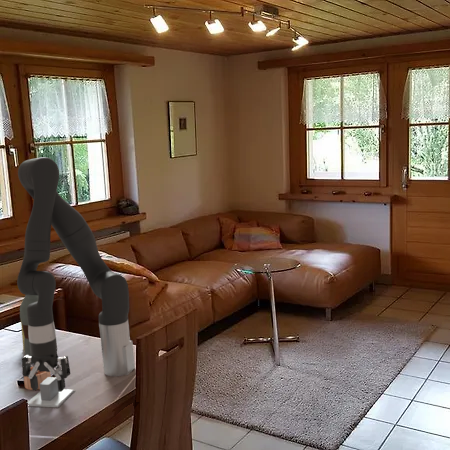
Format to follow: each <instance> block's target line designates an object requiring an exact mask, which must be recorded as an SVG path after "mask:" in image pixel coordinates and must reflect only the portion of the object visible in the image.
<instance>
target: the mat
mask: <svg viewBox="0 0 450 450" xmlns="http://www.w3.org/2000/svg"><path fill="white" fill-rule="evenodd" d="M73 391H74V392H73V393H72V394H71V395H70V396H69V397H68V398H67V399H66V400H65V401H64V402H63V403H62V404H61V405H60V406H59V407H42V406H29V407H28V408H45V409H60V408H61V407H62V405H64V404H65V402H67V401H68V400H69V398H71V397H72V396H73V394H75V393H76V390H73Z"/></svg>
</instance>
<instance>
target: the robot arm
mask: <svg viewBox="0 0 450 450" xmlns="http://www.w3.org/2000/svg"><path fill="white" fill-rule="evenodd" d="M17 176H18V180H19V182H20V184H21V186H22V187H23V188H24V189H25V190H26V192H27V193H28V194H29V196H30V197H31V198H32V200H33V204H32V209H31V213H30V216H29V219H28V222H27V225H26V229H25V234H24V255H23V259H22V261H21V262H22V263H21V267H20V269H19V272H18V275H17V283H16V284H17V289H18V290H19V292H20V293H21V294H23V295H24V296H25V295H38V302H34V303H31V304H30V305H28V307H27V318H28V334H29V343H30V352H31V355H32V356H29V355H28V354H27V355H26V356H25V355H24V356H23V357H22V358H21V367H22V369H21V370H22V377H23V378H24V377H26V376H27V377H29V378H30V383H31V388H32V390H31V391H37V389H38V378H37V376H36V374H37V373H38V371H40V372H43V371H46V372H50V373H51V374H52V375H53V376H54V377H56V378H57V383H58V391H59V392H62V391H63V390H64V389H65V388H66V378H68V377H69V376H70V375H71V368H70V362H69V356H68V355H65V356H60V357H59V355H58V344H57V343H58V342H57V334H56V327H55V322H54V313H53V304H54V298H55V293H56V285H57V284H56V278H55V277H54V274H53V273H52V272H49V271H46V270H37V269H38V266H39V265H40V264H41V263H47V262H48V261H49V260H50V258H51V233H52V228H53V229H54V231H55V233H56V234H57V237H58V238H59V239H60V241H61V242H62V244H63V246H64V247H65V249H66V250H67V251H68V252H69V254H70V256H71V257H72V258H73V260H74V261H75V262H76V263H77V265H78V266H79V267H80V269H81V271H82V272H83V274H84V276H85V279H86V280H87V282H88V284H89V286H90V288H91V290H92V292H93V294H94V295H95V296H96V297H97V298H99V299H101V308H102V310H101V311H100V312H99V314H98V327H99V335H100V344H101V346H100V347H101V354H102V355H101V356H102V357H101V358H102V365H103V367H102V368H103V373H104V374H105V376H108V377H121V376H128V375H130V374H131V373H132V372H133V370H134V369H135V368H136V367H135V355H134V354H135V353H134V344H133V340H131V337H130V325H129V313H130V292H129V284H128V281H127V279H126V278H125V277H124V276H123V275H121V274H119V273H116V272H114V271H112V269H110V267H109V266H108V265H107V264H106V262H105V261H104V260H103V258H102V256H101V254H100V253H99V249H98V245H97V241H96V237H95V235H94V233H93V231H92V229H91V227H90V226H89V224H88V222H87V221H86V219H85V218H84V217H83V215H82V214H81V213H80V212H79V211H78V210H76V209H75V207H73V206H72V205H71V204H70V203H68V201H67V200H65V199H64V198H63V197H62V196H61V195H60V194H59V192H58V185H59V181H60V180H59V179H60V168H59V166H58V164H57V163H56V161H54V160H53V159H52V158H50V157H46V156H45V157H43V156H42V157H37V158H31V159H30V158H29V159H27V160H24V161H23V162H22V163H20V165H19V166H18V169H17ZM30 362H32V363H33V364H32V365H33V366H34V367H33V369H32V371H31V367H32V366H31V363H30ZM38 390H39V389H38Z"/></svg>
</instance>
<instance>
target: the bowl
mask: <svg viewBox="0 0 450 450" xmlns="http://www.w3.org/2000/svg"><path fill="white" fill-rule="evenodd" d="M34 366H35V365H33V366H30V367H31V371H32V369H33V367H34ZM51 374H52V373H51V372H46V371H43V372H40V371H38V373H37V374H36V376H37V378H38V389H37V390H38V391H39V390H40V385H39V384H40V383H42V382H43V381H44V380H45V379H46V378H47V377H52V375H51ZM23 383H24V388H25V389H26V390H29V391H33V390H32V388H31V383H30V378H29V377H27V376H26V377H24V376H23ZM37 390H36V391H37Z"/></svg>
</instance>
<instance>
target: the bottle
mask: <svg viewBox="0 0 450 450" xmlns="http://www.w3.org/2000/svg"><path fill="white" fill-rule="evenodd" d="M34 302H38V295H25V294H24V297H23V300H22V301H21V303H20V307H19V319H20V324H21V323H22V326H21V328H22V327H23V332H24V351H23V352H24V356H26V355H27V354H28V355H29V356H32V355H31V352H30V343H29V334H28V318H27V307H28V305H30V304H31V303H34ZM31 364H32V365H34V364H33V363H32V362H30V365H31Z"/></svg>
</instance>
